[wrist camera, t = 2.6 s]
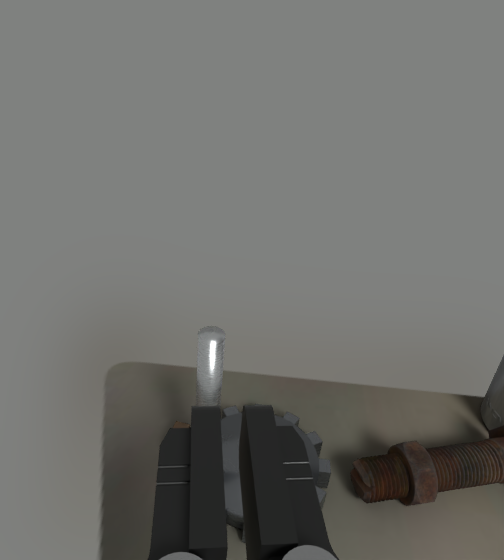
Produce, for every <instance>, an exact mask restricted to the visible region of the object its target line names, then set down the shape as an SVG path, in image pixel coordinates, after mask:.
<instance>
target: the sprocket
mask: <svg viewBox="0 0 504 560" xmlns="http://www.w3.org/2000/svg"><path fill="white" fill-rule="evenodd" d="M224 345H225V332H224V331H223V330H222V329H220V328H218V327H214V326H208V327H204V328H202V329H201V330H200V331H199V333H198V358H197V390H196V406H220V404H221V389H222V374H223V358H224ZM255 405H259V404H255ZM274 416H275V422H276V426H293V427H294V429H295V430H296V431H297V433H298V434H299V435H300V437H301V438H302V440H303V441H304V443H305V447H306V451H307V455H308V459H309V465H310V467H311V471H312V475H313V480H314V483H315V487H316V491H317V495H318V499H319V503H320V507H321V509H322V507H323V504H324V500H325V496H326V492H325V491H324V490H322V489H320V488H319V487H323V488H327V486H328V482H329V478H330V474H331V469H330V460H327V459H319V458H318V457H319V455H320V450H321V446H322V440H321V439H320V438H319V436H318V435H317V434H316V432H315V431H313V432H310V433H308V434H305V433H304V432H303V431H302V430H301V429H300V428H299V427H298V424H299V418H298V417H296V416H295V415H293V414H291V413H289V412H287V413H286V414H285V415H284V416H283V418H282V417H279V416H277V415H274ZM241 421H242V412H241V413H240V412H239V411H238V409H237V407H236V406H232V407H229V408H225V409H223V415H222V419H221V435H222V453H223V472H224V491H225V510H226V523H227V524H229V525H231V526H233V527H236V528H239V529H242V530H243V535H242V542H244V543H246V541H245V530H244V519H243V507H242V496H241V485H240V473H239V441H240V431H241Z"/></svg>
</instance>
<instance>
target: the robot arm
mask: <svg viewBox="0 0 504 560" xmlns="http://www.w3.org/2000/svg"><path fill="white" fill-rule="evenodd" d="M481 416H482V419H483V421H484V423H485V425H486V427H487V428H488V429H489V430H491V429H494V428H497V427H500V426H503V425H504V356H503V358H502V360H501V362H500V365H499V367H498V369H497V371H496V373H495V375H494V378H493V380H492V382H491V384H490V386H489V389H488V391H487V393H486V395H485V397H484V400H483V402H482V404H481ZM239 473H240V485H241V496H242V507H243V519H244V530H245V541H246V552H247V560H339V559H338V558H337V556H336V555H335V553H334V551H333V549H332V547H331V545H330V542H329V539H328V535H327V531H326V527H325V523H324V519H323V515H322V511H321V507H320V503H319V499H318V495H317V491H316V487H315V483H314V480H313V475H312V471H311V467H310V465H309V459H308V455H307V451H306V447H305V443H304V441H303V440H302V438H301V437H300V435H299V434H298V433H297V431H296V430H295V429H294V427H293V426H276V422H275V416H274V411H273V407H272V405H244V406H243V411H242V421H241V431H240V441H239ZM226 557H227V528H226V510H225V491H224V472H223V453H222V435H221V416H220V406H192V415H191V428H170V429H169V431H168V433H167V434H166V436H165V438H164V440H163V441H162V443H161V445H160V451H159V462H158V473H157V486H156V495H155V505H154V516H153V527H152V538H151V549H150V554H149V558H148V560H226Z"/></svg>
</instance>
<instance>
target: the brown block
mask: <svg viewBox="0 0 504 560" xmlns="http://www.w3.org/2000/svg"><path fill="white" fill-rule="evenodd" d="M173 428H190V424H186V423H182V422H178V421H176V422H175V424H174V426H173Z"/></svg>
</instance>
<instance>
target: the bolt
mask: <svg viewBox="0 0 504 560" xmlns="http://www.w3.org/2000/svg"><path fill="white" fill-rule="evenodd" d="M353 466H354V469H352V470H351V473H350V474H351V480H352V483H353V485H354V488H355V490H356V493H357V494H358V496H359V497H360V498H361V499H363V501H364V502H366V503H369V502H370V503H373V502H377V501H378V502H380V501H384V500H389V499H390V500H393V499H397V498H399V499H400V501H401V502H402V503H404V504H405V505H406V506H410V505H416V504H422V503H428V502H434V501H435V499H436V496H437V492H444V491H449V490H455V489H460V488H468V487H475V486H480V485H481V486H482V485H488V484H494V483H504V425H503V426H500V427H497V428H494V429H491V430H489V439H486V440H484V441H480V442H473V443H463V444H457V445H456V444H455V445H450V446H443V447H436V448H428V449H425V448H424V447H423V446H422V445H420V444H419V443H418V442H417V441H410V442H403V443H400V444H396V445H394V446H392V447H390V449H389V451H388V454H386V455H378V456H374V457H373V456H371V457H365V458H361V459H357V460H356V461H354V462H353Z"/></svg>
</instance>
